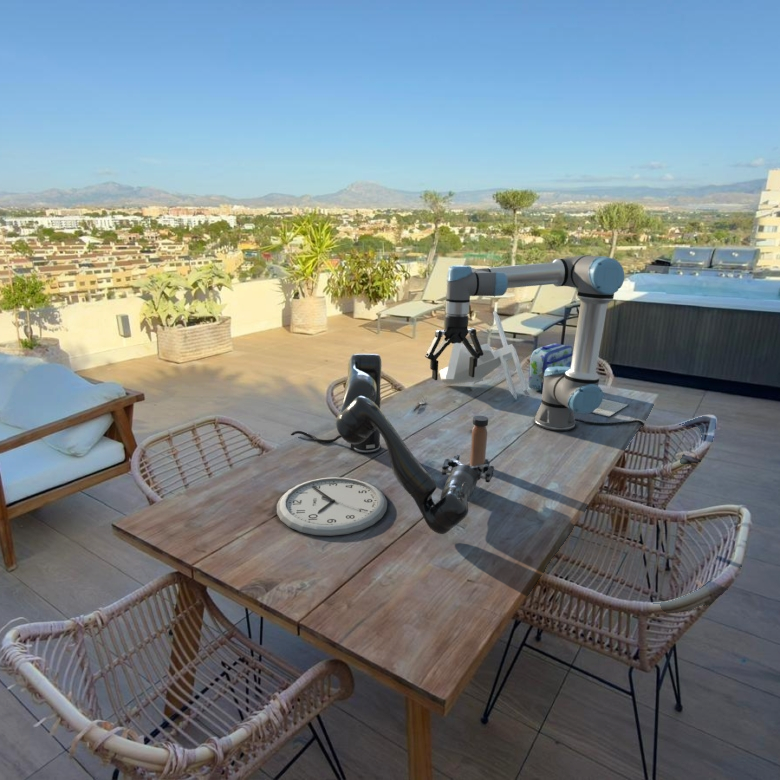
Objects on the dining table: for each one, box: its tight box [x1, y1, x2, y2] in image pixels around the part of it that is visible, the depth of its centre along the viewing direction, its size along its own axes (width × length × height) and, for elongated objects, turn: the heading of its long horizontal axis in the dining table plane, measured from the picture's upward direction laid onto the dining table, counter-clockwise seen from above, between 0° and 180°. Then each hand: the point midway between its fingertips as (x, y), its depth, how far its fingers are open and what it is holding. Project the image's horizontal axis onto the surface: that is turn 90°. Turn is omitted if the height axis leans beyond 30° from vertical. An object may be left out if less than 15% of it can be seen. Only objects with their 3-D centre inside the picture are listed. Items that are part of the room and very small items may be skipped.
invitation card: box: [591, 398, 629, 418], centre depth 226 cm, size 21×1×15 cm
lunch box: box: [528, 343, 573, 392], centre depth 249 cm, size 26×11×21 cm, turn 134°
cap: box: [472, 415, 489, 427], centre depth 163 cm, size 5×5×2 cm
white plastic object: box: [438, 310, 531, 400], centre depth 245 cm, size 37×45×31 cm
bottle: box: [469, 425, 488, 466], centre depth 165 cm, size 5×5×16 cm
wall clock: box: [276, 476, 388, 537], centre depth 142 cm, size 30×2×30 cm
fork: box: [413, 396, 428, 412], centre depth 222 cm, size 3×16×2 cm, turn 160°
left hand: (472, 459), depth 156 cm, fingers open, 8 cm apart
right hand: (453, 377), depth 175 cm, fingers open, 13 cm apart
